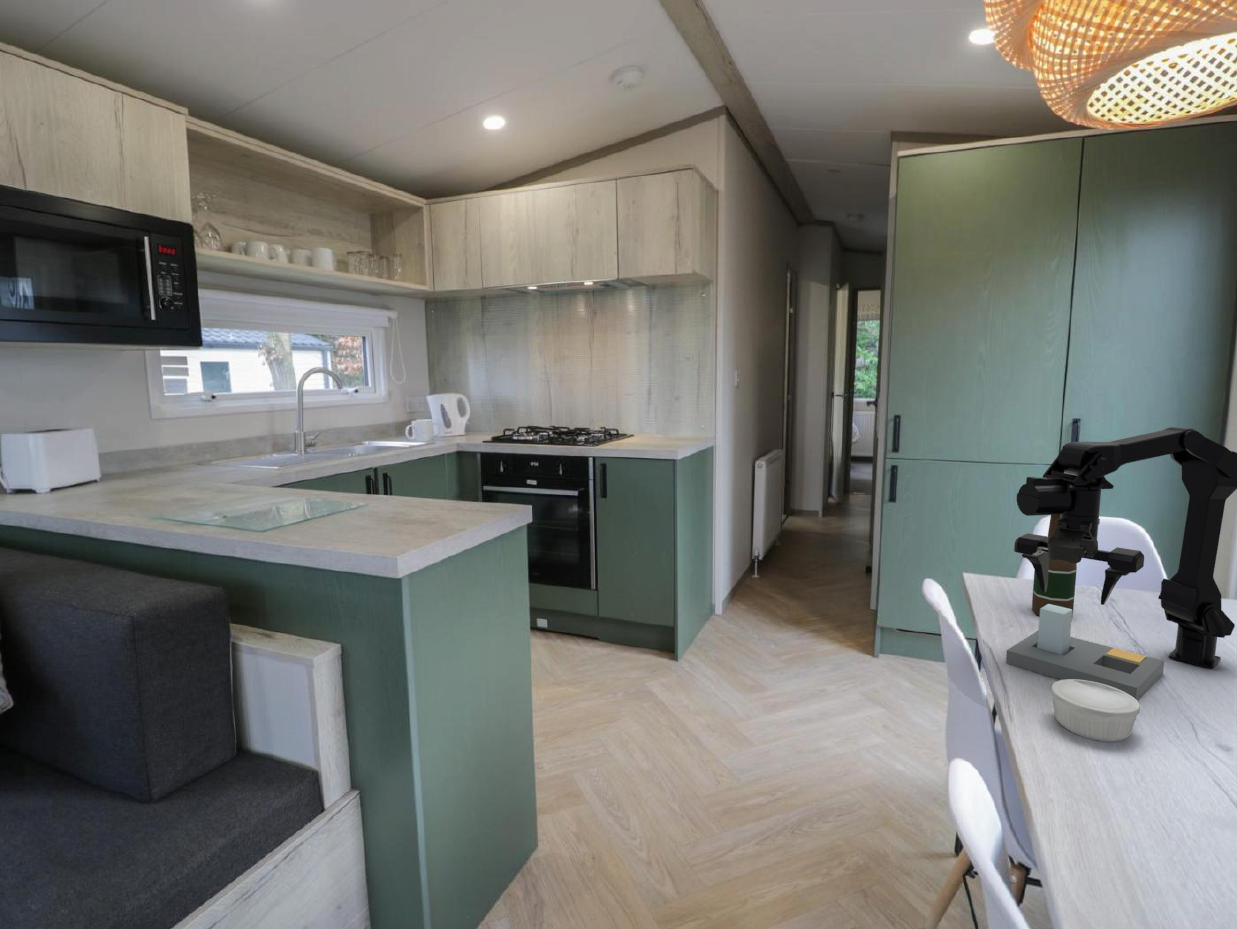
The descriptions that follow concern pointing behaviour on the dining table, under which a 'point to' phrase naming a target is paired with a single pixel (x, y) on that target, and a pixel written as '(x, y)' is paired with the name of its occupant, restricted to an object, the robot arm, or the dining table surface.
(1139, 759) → the dining table surface
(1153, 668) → the socket panel
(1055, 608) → the plug
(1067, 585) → the beer bottle
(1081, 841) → the dining table surface
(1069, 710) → the ramekin
